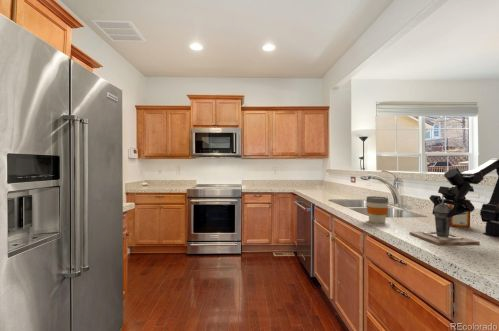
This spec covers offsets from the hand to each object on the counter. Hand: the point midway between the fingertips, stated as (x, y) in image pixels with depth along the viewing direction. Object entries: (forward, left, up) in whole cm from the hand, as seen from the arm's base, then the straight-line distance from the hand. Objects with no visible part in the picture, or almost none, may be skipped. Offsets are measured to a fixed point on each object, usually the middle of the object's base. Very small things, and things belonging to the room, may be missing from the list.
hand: (440, 215), depth 123 cm
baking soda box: (-33, -25, -12) cm, 43 cm away
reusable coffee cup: (+9, -38, -12) cm, 41 cm away
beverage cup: (-1, 0, -10) cm, 10 cm away
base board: (-1, 0, -11) cm, 11 cm away
